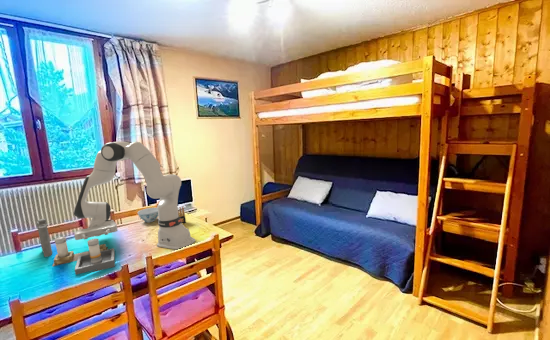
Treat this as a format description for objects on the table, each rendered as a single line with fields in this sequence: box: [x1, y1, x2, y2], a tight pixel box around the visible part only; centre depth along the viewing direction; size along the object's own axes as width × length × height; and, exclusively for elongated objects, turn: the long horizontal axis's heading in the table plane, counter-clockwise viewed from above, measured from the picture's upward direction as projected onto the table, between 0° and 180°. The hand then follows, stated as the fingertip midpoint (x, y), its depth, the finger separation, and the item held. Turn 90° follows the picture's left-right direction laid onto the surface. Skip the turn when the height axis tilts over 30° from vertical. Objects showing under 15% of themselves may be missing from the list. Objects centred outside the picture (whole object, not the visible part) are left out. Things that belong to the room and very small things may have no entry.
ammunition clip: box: [178, 206, 187, 224], centre depth 194 cm, size 11×2×12 cm, turn 122°
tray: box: [74, 248, 116, 275], centre depth 142 cm, size 16×16×4 cm
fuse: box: [54, 236, 70, 258], centre depth 146 cm, size 5×5×12 cm
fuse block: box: [51, 243, 109, 267], centre depth 151 cm, size 24×10×4 cm, turn 119°
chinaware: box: [137, 207, 159, 223], centre depth 204 cm, size 15×15×8 cm
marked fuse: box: [87, 238, 102, 264], centre depth 141 cm, size 5×5×12 cm
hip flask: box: [36, 218, 53, 258], centre depth 157 cm, size 16×4×20 cm, turn 44°
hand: (96, 235), depth 151 cm, fingers open, 8 cm apart
